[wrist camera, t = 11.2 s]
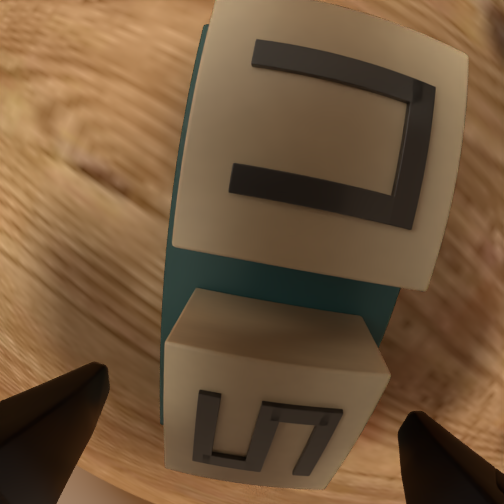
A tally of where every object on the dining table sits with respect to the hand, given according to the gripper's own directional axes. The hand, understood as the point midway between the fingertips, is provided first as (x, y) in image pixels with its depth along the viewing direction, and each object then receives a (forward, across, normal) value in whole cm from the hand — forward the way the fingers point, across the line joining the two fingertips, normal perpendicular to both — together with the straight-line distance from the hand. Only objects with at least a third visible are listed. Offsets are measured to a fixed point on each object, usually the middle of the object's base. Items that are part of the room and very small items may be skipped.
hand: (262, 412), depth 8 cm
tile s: (+2, 0, 0) cm, 2 cm away
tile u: (+2, 0, -7) cm, 7 cm away
